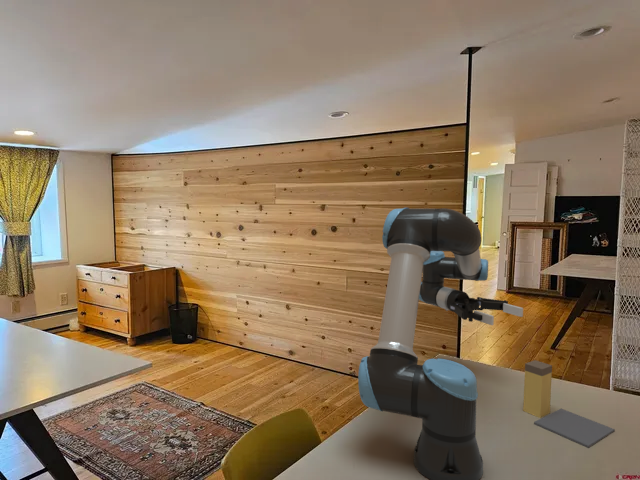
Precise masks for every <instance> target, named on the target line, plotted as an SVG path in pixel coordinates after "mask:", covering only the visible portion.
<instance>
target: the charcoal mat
mask: <svg viewBox="0 0 640 480" xmlns="http://www.w3.org/2000/svg"><path fill="white" fill-rule="evenodd" d="M533 425H536V426H538V427H540V428H542V429H545V430H547V431H550V432H551V433H554V434H556V435H558V436H560V437H562V438H565V439H567V440H570V441H572V442H575V443H576V444H579V445H581V446H582V447H585V448H588V449H589V448H590V447H592V446H594V445H595V444H598V442H600V441H601V440H603V439H604V438H605V439H606V437H608V436H609V435H611V434H612V433H614V432H615V430H616V429H615V428H612V427H610V426H608V425H605V424H602V423H601V422H597V421H595V420H592V419H589V418H586V417H584V416H581V415H580V414H576V413H575V412H571V411H569V410H566V409H563V408H559V409H557V410H555V411H552V412H550V413H549V414H547V415H545V416H543V417H541V418H538V419H537V420H535V421H534V422H533Z"/></svg>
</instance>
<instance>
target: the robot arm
mask: <svg viewBox="0 0 640 480" xmlns="http://www.w3.org/2000/svg"><path fill="white" fill-rule="evenodd" d="M381 238H382V239H381V240H382V244H383V247H384V248H385V249H386V254H387V255H388V256H389V257H390V265H389V272H388V279H387V284H386V290H385V298H384V301H383V304H384V305H383V309H382V315H381V322H380V327H379V334H378V340H377V343H376V344H375V345H374V346H372V347H371V348H370V352H369V356H368V355H367V356H364V357H362V358H361V360H360V363H359V366H358V372H357V373H358V375H357V378H358V379H357V380H358V382H357V384H358V393H359V397H360V400H361V402H362V403H363V405H364V406H366V407H367V408H370V409H375V410H378V411H380V412H388V413H391V414H399V415H403V416H407V417H411V418H412V417H413V418H418V419H422V427H421V431H420V433H419V437H418V439H417V440H416V441H417V442H416V444H415V446H414V449H413V464H414V467H415V468H416V469H417V471H418V472H419V473H420V474H421V475H422V476H424V477H426V478H427V479H428V480H481V478H482V476H483V473H484V460H483V458H482V455H481V452H480V449H479V445H478V441H477V437H476V432H477V431H476V429H477V425H476V424H477V399H478V397H479V396H478V395H479V393H478V385H477V377H476V375H475V373H474V372H473V371H472V370H471V369H470V368H468V367H467V366H465V365H464V364H462V363H460V362H456V361H453V360H450V359H445V358H439V357H438V358H428V359H426V360H425V361H424V362H423V364H422V365H421V364H418V361H419V358H418V356H417V354H416V353H415V352H414V348H413V347H414V341H415V333H416V326H417V317H418V309H419V301H421V302H423V303H425V304H426V305H432V306H434V307H439V308H441V309H444V310H445V311H446V312H447V311H450V312H452V313H455V314H456V315H457V316H458V317H459V318H461V319H462V320H464V321H467V320H468V322H470V323H472V322H473V320H474V321H477V322H480V323H483V324H486V325H489V326H494V322H495V321H494V320H495V319H494V318H495V317H494V315H492V314H489V313H487V312H486V313H485V312H482V311H483V310H488V311H489V310H491V311H502V312H503V313H506V314H509V315H512V316H516V317H520V318H522V317H523V318H524V307H521V306H517V305H514V304H513V305H512V304H509V301H508V300H505V299H504V300H502V299H501V300H500V299H493V298H486V297H485V298H484V297H480V296H477V297H476V298H474V297H470V296H469V295H468V294H467V292H465V291H463V290H459V289H455V288H452V287H447V286H444V282H445V279H448V280H449V279H451V280H464V281H476V282H479V281H482V282H484V281H487V280H488V278H489V260H487V259H486V258H481V252H480V247H481V245H482V234H481V231H480V229H479V227H478V226H477V224H476V223H475V222H474V221H473V220H472V219H471V218H470V217H468V216H467V215H465V214H464V213H463V212H462V213H461V212H460V211H457V210H454V209H452V208H443V207H442V208H435V207H434V208H428V207H427V208H425V207H424V208H410V207H403V208H394V209H392V210H390V211H389V212H388V214H387V215H386V217H385V221H384V224H383V228H382V237H381ZM445 252H450V253H452V255H453V257H451V256H446V255H445Z"/></svg>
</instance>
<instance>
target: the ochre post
mask: <svg viewBox="0 0 640 480" xmlns="http://www.w3.org/2000/svg"><path fill="white" fill-rule="evenodd" d="M552 373H553V365H551V364H548V363H547V362H546V363H545V362H542V361H539V360H536V359H534V360H532V361H530V362H525V363H524V380H523V381H524V386H523V408H522V411H523V412H525V413H527V414H530V415H533V416H535V417H536V418H538V419H541V418H543V417H545V416H547V415H549V414H551V397H552V395H551V394H552V377H553V376H552V375H553V374H552Z"/></svg>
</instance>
